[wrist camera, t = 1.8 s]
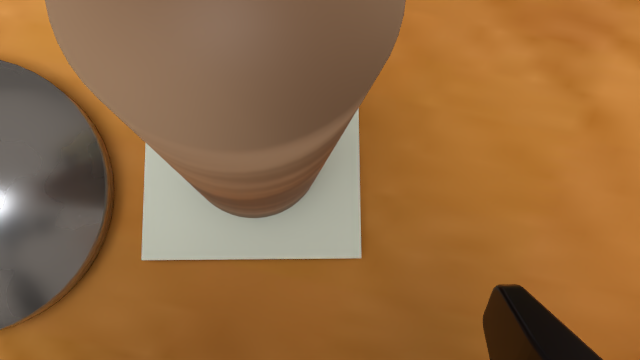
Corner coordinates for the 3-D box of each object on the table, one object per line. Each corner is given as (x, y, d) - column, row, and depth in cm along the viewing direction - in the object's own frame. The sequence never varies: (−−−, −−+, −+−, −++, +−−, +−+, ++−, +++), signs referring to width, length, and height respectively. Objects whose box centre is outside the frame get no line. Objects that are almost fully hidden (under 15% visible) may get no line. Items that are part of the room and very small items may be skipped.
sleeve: (258, 246, 20) (240, 226, 7) (158, 155, 20) (-39, -25, 7) (347, 148, 21) (475, -30, 8) (250, 61, 21) (221, -251, 8)
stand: (356, 258, 21) (361, 258, 20) (147, 259, 20) (141, 260, 19) (353, 61, 22) (357, 52, 21) (154, 56, 22) (149, 47, 21)
